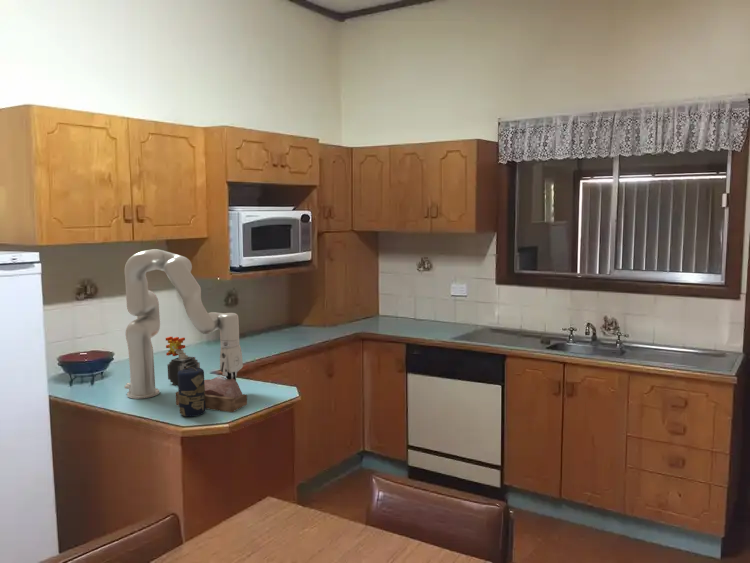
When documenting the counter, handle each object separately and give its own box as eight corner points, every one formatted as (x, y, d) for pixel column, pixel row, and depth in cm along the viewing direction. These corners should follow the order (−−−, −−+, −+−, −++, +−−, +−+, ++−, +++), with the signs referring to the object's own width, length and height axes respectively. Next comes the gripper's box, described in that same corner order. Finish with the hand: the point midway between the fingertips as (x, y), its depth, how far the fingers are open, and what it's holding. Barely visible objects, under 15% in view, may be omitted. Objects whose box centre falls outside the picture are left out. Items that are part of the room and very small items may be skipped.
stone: (214, 375, 270) (190, 384, 260) (250, 380, 259) (227, 390, 249) (217, 394, 272) (193, 404, 261) (253, 400, 260) (229, 411, 250)
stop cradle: (176, 405, 257) (175, 392, 256) (192, 397, 266) (191, 385, 266) (232, 412, 247) (231, 399, 247) (247, 404, 257) (246, 392, 256)
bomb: (189, 386, 282) (186, 341, 280) (164, 383, 288) (162, 338, 285) (200, 382, 290) (198, 337, 287) (176, 379, 295) (174, 335, 292)
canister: (188, 420, 239) (186, 371, 237) (174, 414, 246) (172, 367, 243) (211, 413, 246) (209, 366, 244) (196, 408, 253) (194, 362, 250)
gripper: (227, 348, 259) (229, 393, 261) (248, 340, 273) (249, 383, 275) (211, 346, 262) (213, 391, 264) (232, 339, 275) (234, 381, 278)
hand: (231, 387), depth 269 cm, fingers closed
